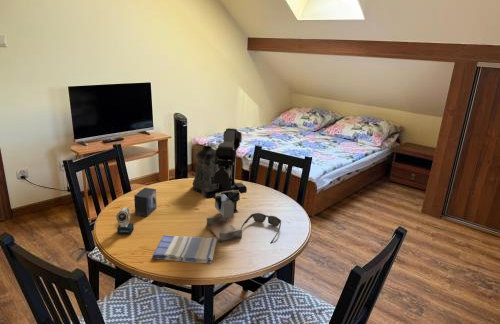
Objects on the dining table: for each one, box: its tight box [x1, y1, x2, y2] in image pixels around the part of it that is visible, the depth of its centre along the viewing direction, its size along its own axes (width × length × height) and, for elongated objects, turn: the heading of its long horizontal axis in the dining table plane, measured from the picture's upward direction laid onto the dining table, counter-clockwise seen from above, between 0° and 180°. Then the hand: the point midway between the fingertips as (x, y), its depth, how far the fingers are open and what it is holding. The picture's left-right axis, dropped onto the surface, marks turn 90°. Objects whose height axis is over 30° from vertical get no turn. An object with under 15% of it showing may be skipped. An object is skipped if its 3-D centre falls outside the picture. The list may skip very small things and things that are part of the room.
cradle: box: [206, 214, 243, 244], centre depth 153 cm, size 10×16×4 cm, turn 28°
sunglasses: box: [240, 212, 282, 244], centre depth 155 cm, size 16×17×5 cm
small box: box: [133, 187, 157, 218], centre depth 166 cm, size 11×6×10 cm, turn 168°
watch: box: [115, 207, 135, 236], centre depth 147 cm, size 6×8×11 cm
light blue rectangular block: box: [214, 193, 235, 219], centre depth 149 cm, size 4×11×6 cm, turn 28°
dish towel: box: [151, 234, 218, 264], centre depth 138 cm, size 17×24×3 cm
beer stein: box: [192, 145, 219, 194], centre depth 194 cm, size 16×19×25 cm
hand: (224, 208), depth 150 cm, fingers closed on light blue rectangular block, 4 cm apart
